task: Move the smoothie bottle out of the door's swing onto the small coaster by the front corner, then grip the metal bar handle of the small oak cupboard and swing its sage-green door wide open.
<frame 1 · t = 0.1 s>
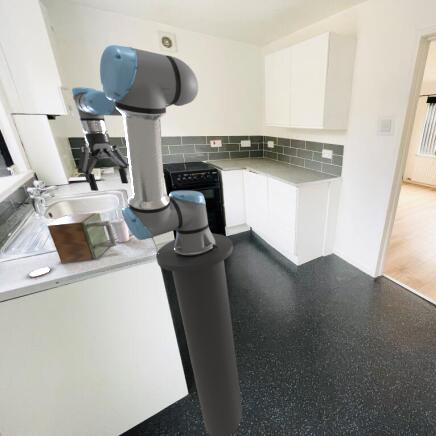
hand: (110, 186, 102), 23 cm above the countertop, tool pointing down, fingers open, 13 cm apart
smoothie: (124, 240, 107), on the countertop
door: (106, 234, 95), point 8 cm above the countertop, hinge at 0.0°
cabinet: (85, 254, 96), on the countertop
coaster: (40, 273, 83), on the countertop
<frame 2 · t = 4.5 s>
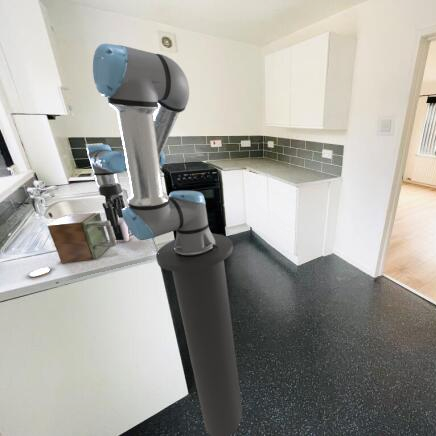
hand: (123, 236, 107), 2 cm above the countertop, tool pointing down, fingers closed on smoothie, 6 cm apart
smoothie: (124, 240, 107), on the countertop, touching gripper
everything else where it was.
when the fingers open (2 cm above the countertop, at t = 16.4 s): smoothie stays where it is, resting on coaster.
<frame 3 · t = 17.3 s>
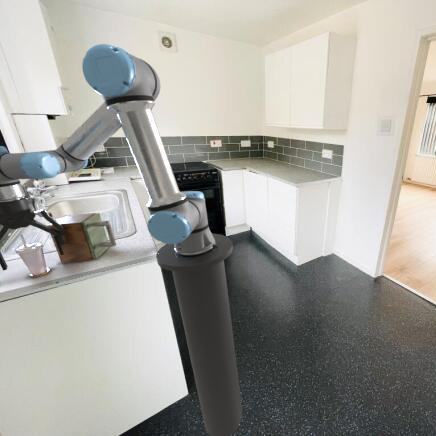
hand: (35, 260, 81), 5 cm above the countertop, tool pointing down, fingers open, 13 cm apart
smoothie: (39, 272, 83), resting on coaster
everything else where it was.
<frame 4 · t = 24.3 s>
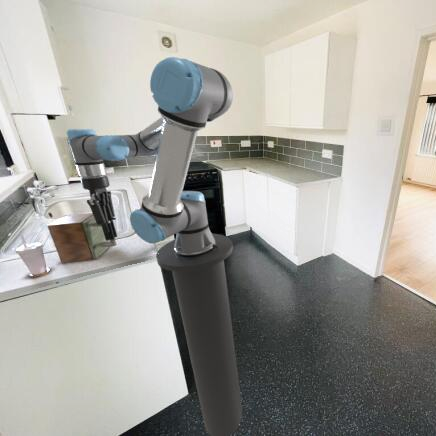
hand: (111, 238, 93), 7 cm above the countertop, tool pointing down, fingers closed on door, 2 cm apart
door: (106, 234, 95), point 8 cm above the countertop, hinge at 0.2°, touching gripper
everything else where it was.
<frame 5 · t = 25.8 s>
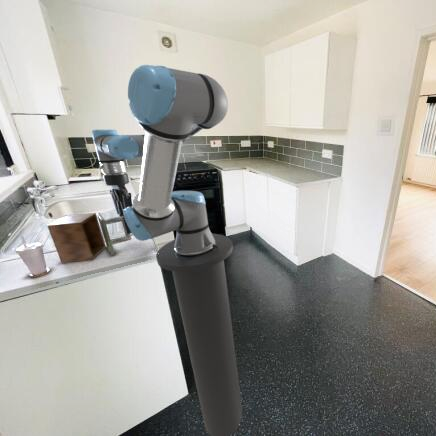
hand: (130, 232, 98), 7 cm above the countertop, tool pointing down, fingers closed on door, 2 cm apart
door: (115, 231, 98), point 8 cm above the countertop, hinge at 30.4°, touching gripper
everything else where it was.
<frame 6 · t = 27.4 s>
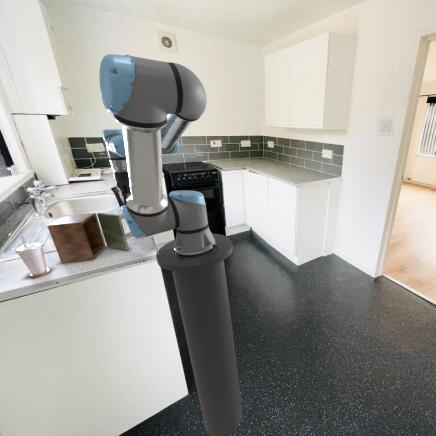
hand: (137, 225, 105), 7 cm above the countertop, tool pointing down, fingers closed
door: (121, 228, 101), point 8 cm above the countertop, hinge at 58.3°
everything else where it was.
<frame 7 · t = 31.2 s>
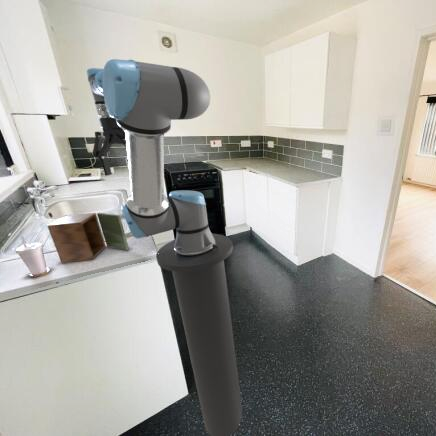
hand: (125, 174, 98), 29 cm above the countertop, tool pointing down, fingers open, 13 cm apart
nothing on the countertop moved.
at the end: door at +58° (first picture: +0°); smoothie 0.1 cm off-centre on the coaster, point 0.3 cm above the coaster's base; smoothie tilted 0° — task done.
